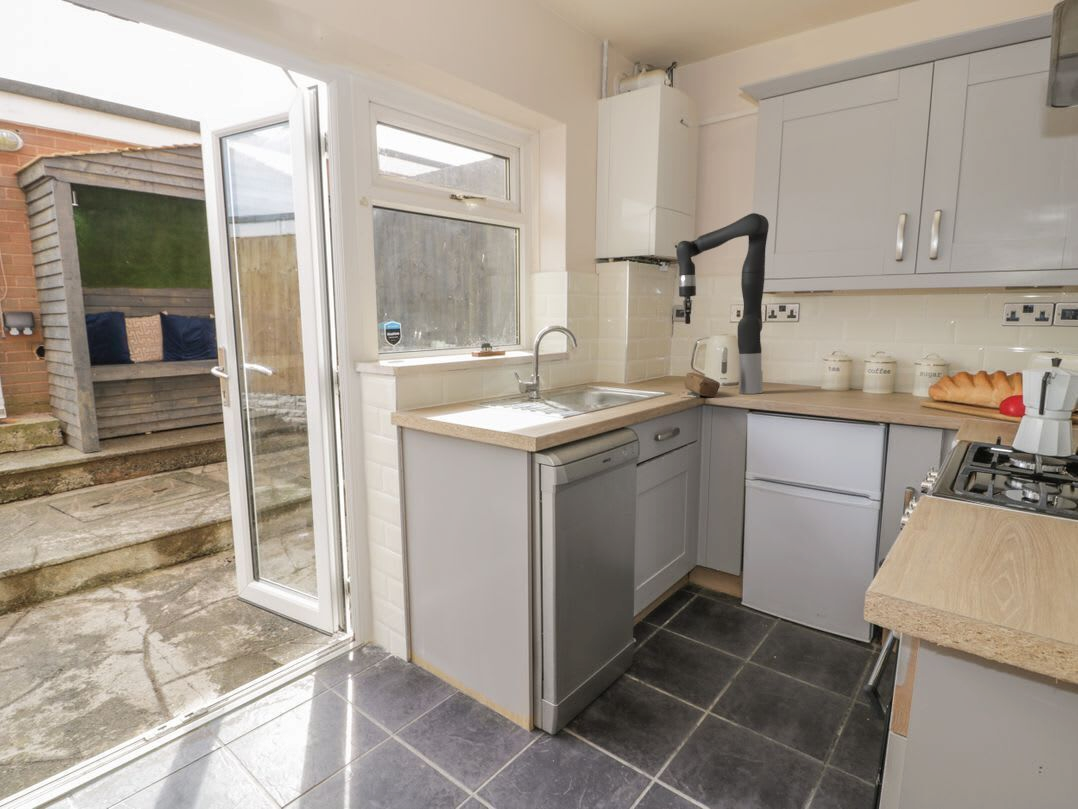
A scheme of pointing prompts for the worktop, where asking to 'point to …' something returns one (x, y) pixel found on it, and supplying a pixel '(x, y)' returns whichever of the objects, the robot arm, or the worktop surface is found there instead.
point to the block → (701, 384)
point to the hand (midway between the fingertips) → (687, 323)
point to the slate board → (693, 394)
